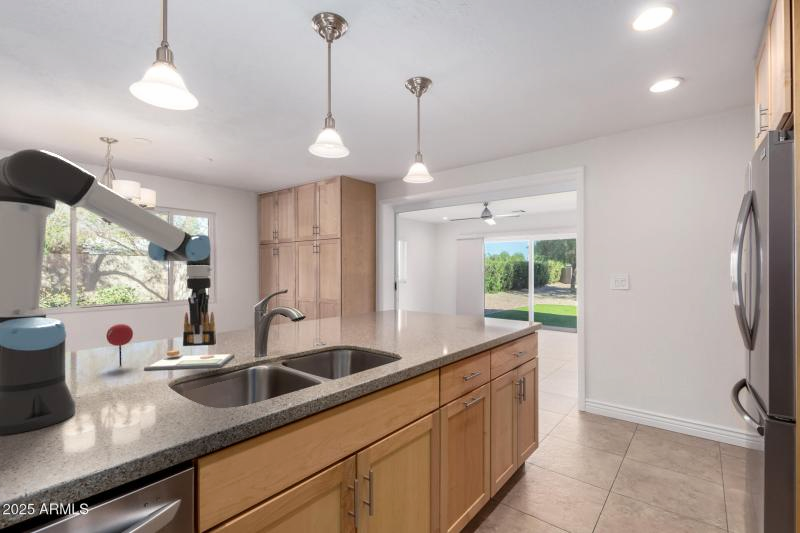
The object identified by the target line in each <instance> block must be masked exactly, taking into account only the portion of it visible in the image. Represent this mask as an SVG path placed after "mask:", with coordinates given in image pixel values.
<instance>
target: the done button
mask: <svg viewBox="0 0 800 533" xmlns="http://www.w3.org/2000/svg"><path fill="white" fill-rule="evenodd" d="M166 356H180V350H178V349H177V350H169V351H167V352H166Z"/></svg>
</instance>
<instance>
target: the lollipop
mask: <svg viewBox="0 0 800 533" xmlns="http://www.w3.org/2000/svg"><path fill="white" fill-rule="evenodd" d="M133 336H134V332H133V329H132V327H131V326H129V325H127V324H124V323H118V324H115V325H112V326H111V327H110V328H108V330H107V332H106V340H107V342H108V343H109V344H111V346H114V347H115V346H117V347H119V348H118V349H119V350H118V351H119V355H118V356H119V365H121V366H122V346H125V345H127V344H128V343H129V342H131V341H132V339H133Z"/></svg>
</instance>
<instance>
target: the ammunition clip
mask: <svg viewBox="0 0 800 533" xmlns="http://www.w3.org/2000/svg"><path fill="white" fill-rule="evenodd" d="M209 316H210V317H209ZM190 324H191V322H190V320H189V315H188V312H185V315H184V322H183V337H182V346H183V347H195V346H197V347H198V346H200V347H201V346H215V345H216V344H217V339H216V338H217V337H216V324H215V315H214V311H211V313H210V315H209V311H208V312H207V313H206V316H205V323H204V315H203V312H201V325H202V334H203V343H194V325H190Z"/></svg>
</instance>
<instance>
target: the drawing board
mask: <svg viewBox="0 0 800 533" xmlns="http://www.w3.org/2000/svg"><path fill="white" fill-rule="evenodd" d="M234 357H235V353H224V354H223V353H220V354H196V355H193V354H191V355H189V354H188V355H175V356H167V355H166V356H164V357H162V358H160V359H157V361H156V360H155V362H152V363H151V364H150V363H149V364H148V365H146V366H144V367H143V370H144V371H159V370H181V369H182V370H183V369H207V368H221V367H223V366H224V365H225V364H226V363H228V362H229V361H230V360H231V359H233V358H234Z"/></svg>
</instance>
